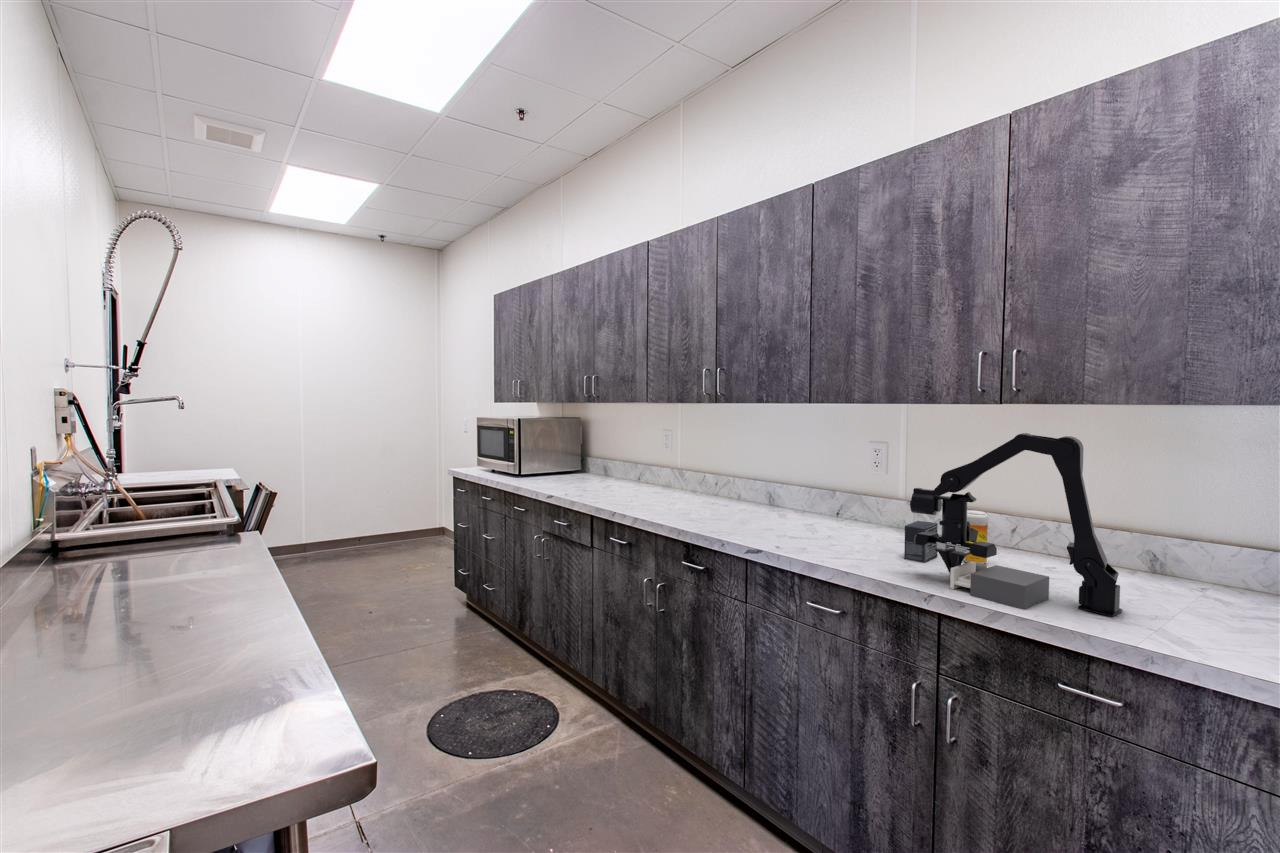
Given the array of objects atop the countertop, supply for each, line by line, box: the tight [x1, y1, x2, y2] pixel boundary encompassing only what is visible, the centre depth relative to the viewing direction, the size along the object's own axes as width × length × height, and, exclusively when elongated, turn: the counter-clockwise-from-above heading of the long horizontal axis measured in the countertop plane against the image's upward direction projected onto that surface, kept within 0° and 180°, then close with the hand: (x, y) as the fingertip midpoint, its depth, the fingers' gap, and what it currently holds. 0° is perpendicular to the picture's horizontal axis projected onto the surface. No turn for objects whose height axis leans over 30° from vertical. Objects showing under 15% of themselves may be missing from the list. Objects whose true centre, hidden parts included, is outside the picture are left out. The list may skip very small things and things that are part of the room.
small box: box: [903, 520, 939, 564], centre depth 178 cm, size 11×6×10 cm, turn 134°
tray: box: [949, 561, 976, 590], centre depth 146 cm, size 12×11×5 cm
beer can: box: [963, 510, 989, 565], centre depth 172 cm, size 6×6×15 cm
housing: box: [969, 564, 1050, 610], centre depth 142 cm, size 12×13×5 cm
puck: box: [976, 563, 988, 572], centre depth 157 cm, size 4×4×4 cm
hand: (953, 576), depth 153 cm, fingers closed
